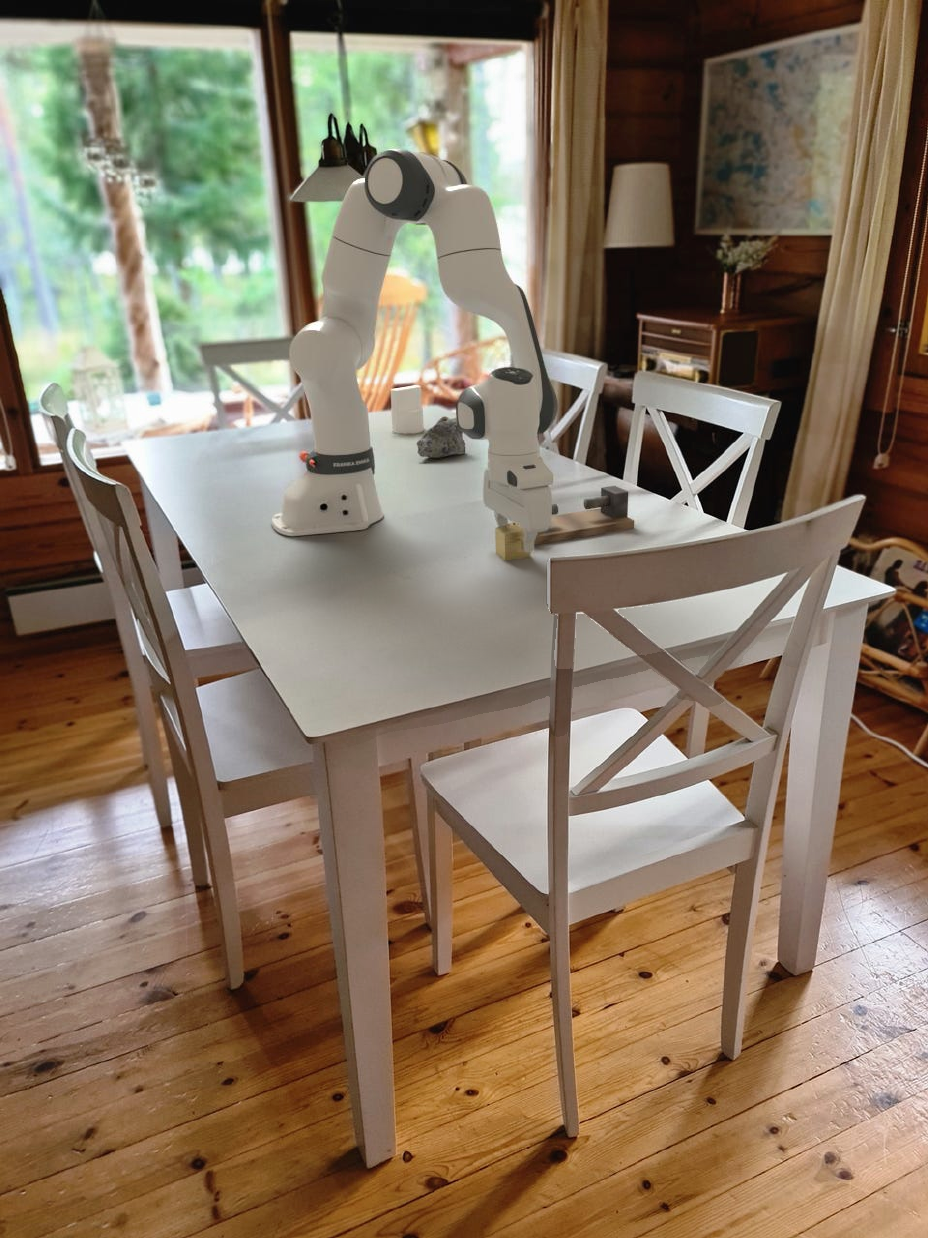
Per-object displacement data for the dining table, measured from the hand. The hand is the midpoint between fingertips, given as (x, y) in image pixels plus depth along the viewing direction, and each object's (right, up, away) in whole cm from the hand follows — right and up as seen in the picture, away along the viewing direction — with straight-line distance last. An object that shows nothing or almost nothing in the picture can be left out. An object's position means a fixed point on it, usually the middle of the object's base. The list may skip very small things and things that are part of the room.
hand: (515, 542), depth 164 cm
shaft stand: (+11, +4, +13) cm, 17 cm away
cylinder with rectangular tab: (-25, +40, +101) cm, 112 cm away
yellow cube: (0, -2, +1) cm, 2 cm away
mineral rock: (-15, +28, +71) cm, 78 cm away
